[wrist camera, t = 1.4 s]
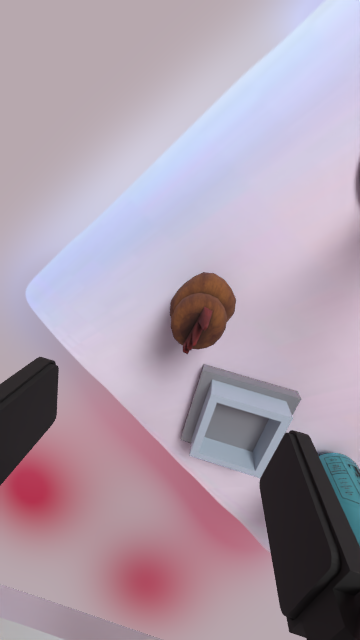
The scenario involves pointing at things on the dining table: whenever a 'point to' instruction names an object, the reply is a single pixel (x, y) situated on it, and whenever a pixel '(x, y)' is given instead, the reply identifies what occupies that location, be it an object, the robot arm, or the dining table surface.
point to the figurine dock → (237, 420)
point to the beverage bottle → (345, 486)
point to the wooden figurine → (201, 311)
